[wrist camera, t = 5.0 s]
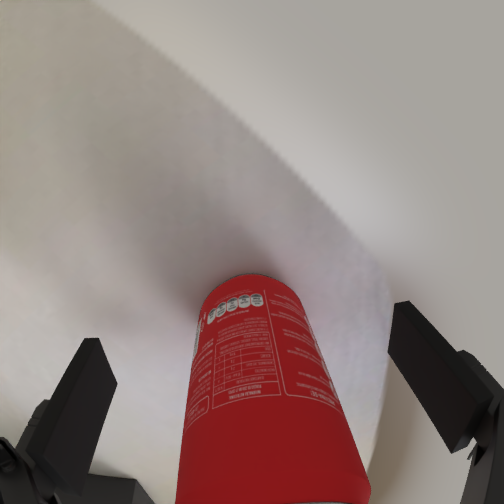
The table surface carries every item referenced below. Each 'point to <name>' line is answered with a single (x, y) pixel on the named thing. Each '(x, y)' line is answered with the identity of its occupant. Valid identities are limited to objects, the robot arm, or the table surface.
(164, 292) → the table surface
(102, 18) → the table surface
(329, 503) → the beverage can
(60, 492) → the black box
